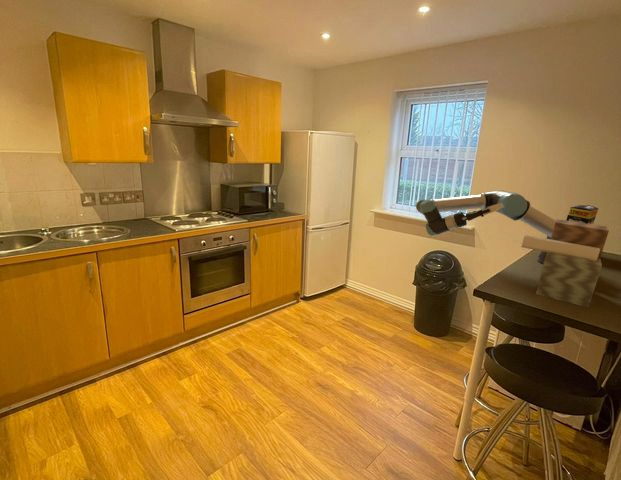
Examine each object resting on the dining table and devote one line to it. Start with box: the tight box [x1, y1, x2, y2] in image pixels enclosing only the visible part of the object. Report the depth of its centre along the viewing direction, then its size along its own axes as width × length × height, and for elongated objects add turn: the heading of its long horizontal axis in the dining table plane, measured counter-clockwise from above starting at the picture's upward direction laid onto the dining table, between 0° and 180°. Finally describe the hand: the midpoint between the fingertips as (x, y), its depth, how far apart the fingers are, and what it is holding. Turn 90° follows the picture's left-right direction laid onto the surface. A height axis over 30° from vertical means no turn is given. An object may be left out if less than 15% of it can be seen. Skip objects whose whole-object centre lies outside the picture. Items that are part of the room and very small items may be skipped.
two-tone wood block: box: [535, 218, 610, 308], centre depth 145 cm, size 18×26×30 cm
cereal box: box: [565, 204, 599, 225], centre depth 212 cm, size 27×11×32 cm, turn 132°
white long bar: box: [521, 234, 600, 262], centre depth 141 cm, size 26×4×5 cm, turn 52°
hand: (500, 206), depth 159 cm, fingers open, 13 cm apart
